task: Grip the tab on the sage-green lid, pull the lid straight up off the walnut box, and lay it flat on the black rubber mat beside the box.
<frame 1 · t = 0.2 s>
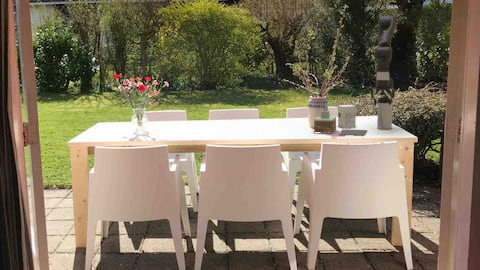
hand: (382, 105, 320), 17 cm above the table, tool pointing down, fingers open, 8 cm apart
walnut box: (325, 131, 331), on the table
supplement box: (346, 127, 346), on the table
rubber mat: (353, 133, 323), on the table
lid: (325, 121, 330), point 7 cm above the table, touching walnut box
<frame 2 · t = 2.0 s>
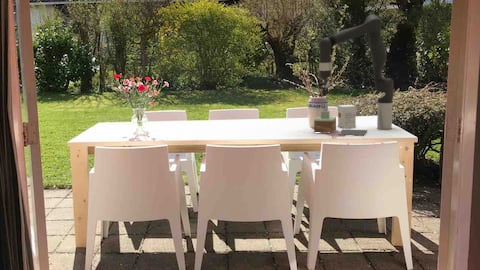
hand: (325, 95, 327), 24 cm above the table, tool pointing down, fingers open, 8 cm apart
nothing on the table moved.
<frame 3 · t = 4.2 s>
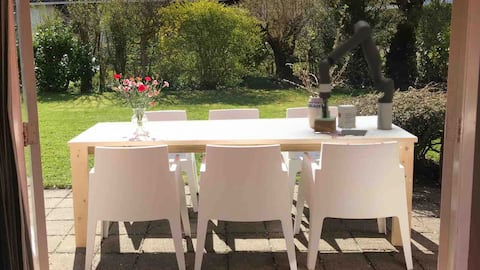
hand: (325, 117, 329), 10 cm above the table, tool pointing down, fingers closed on lid, 2 cm apart
lid: (325, 120, 330), point 7 cm above the table, touching gripper
everything else where it was.
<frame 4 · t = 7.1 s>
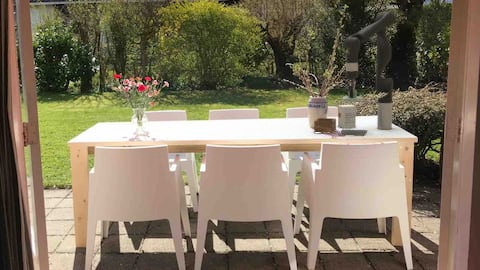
hand: (351, 97, 320), 23 cm above the table, tool pointing down, fingers closed on lid, 2 cm apart
lid: (352, 100, 320), point 21 cm above the table, touching gripper
everything else where it was.
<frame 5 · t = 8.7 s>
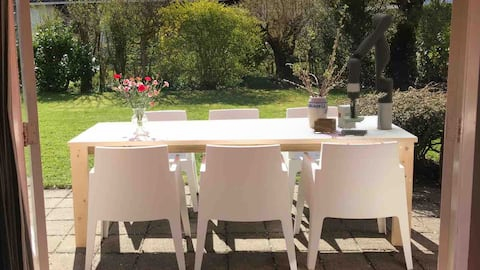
hand: (353, 117, 321), 10 cm above the table, tool pointing down, fingers closed on lid, 2 cm apart
lid: (353, 121, 321), point 8 cm above the table, touching gripper
everything else where it was.
when the fingers open (5 cm above the table, at t = 10.0 s): lid drops 2 cm, resting on rubber mat.
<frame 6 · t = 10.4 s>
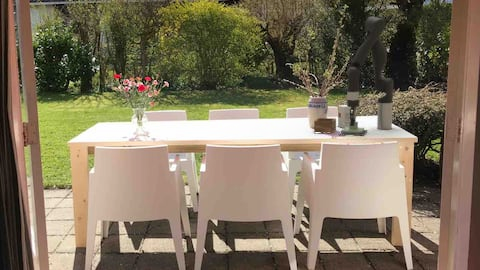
hand: (353, 124, 322), 5 cm above the table, tool pointing down, fingers open, 6 cm apart
lid: (353, 132, 323), point 1 cm above the table, touching rubber mat
everything else where it was.
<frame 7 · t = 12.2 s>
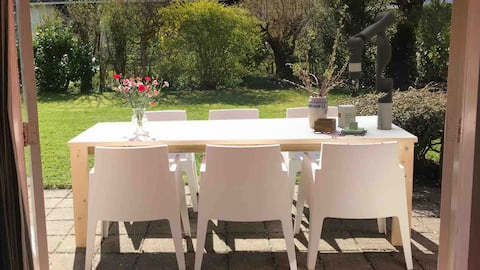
hand: (354, 96, 318), 24 cm above the table, tool pointing down, fingers open, 8 cm apart
nothing on the table moved.
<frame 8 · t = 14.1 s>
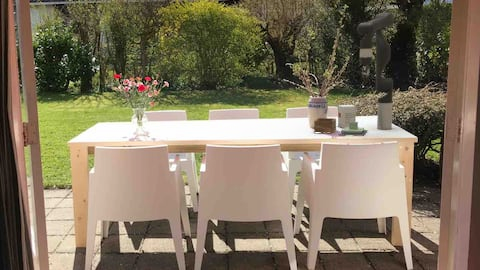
hand: (365, 83, 311), 32 cm above the table, tool pointing down, fingers open, 8 cm apart
nothing on the table moved.
at the end: lid inside the target area on the rubber mat (0.3 cm from its centre), point 0.6 cm above the rubber mat's base; lid tilted 0°; the gripper is holding nothing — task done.
